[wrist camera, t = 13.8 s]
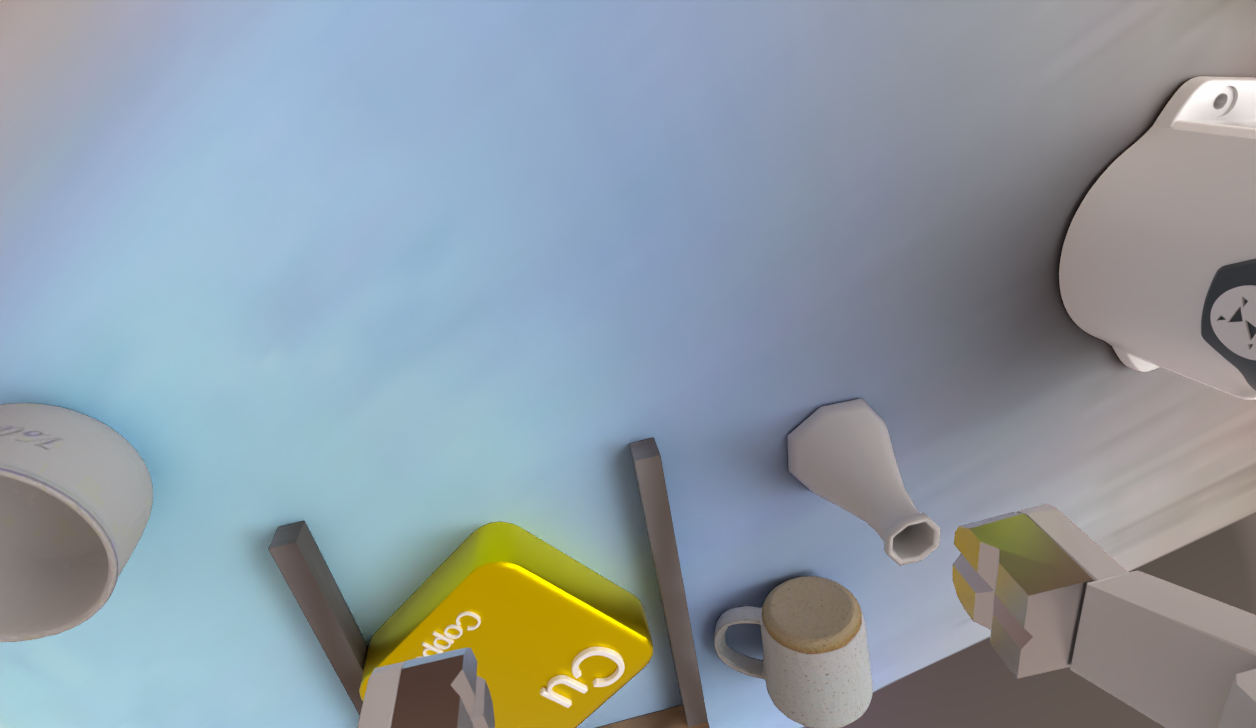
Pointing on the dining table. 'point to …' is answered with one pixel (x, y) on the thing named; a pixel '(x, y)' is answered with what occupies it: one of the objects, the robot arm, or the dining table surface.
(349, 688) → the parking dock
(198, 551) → the dining table surface
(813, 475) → the flask
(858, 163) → the dining table surface
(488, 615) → the element tile
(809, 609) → the ceramic mug
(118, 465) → the teacup
